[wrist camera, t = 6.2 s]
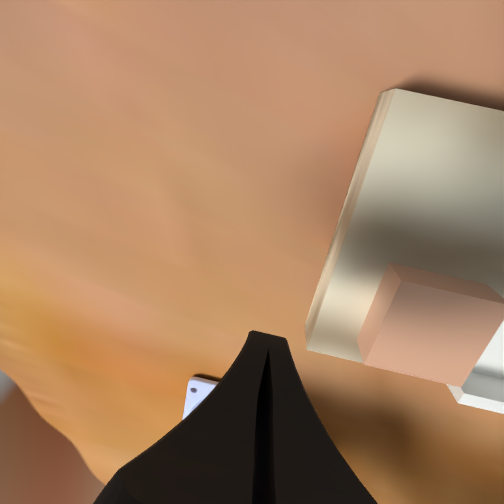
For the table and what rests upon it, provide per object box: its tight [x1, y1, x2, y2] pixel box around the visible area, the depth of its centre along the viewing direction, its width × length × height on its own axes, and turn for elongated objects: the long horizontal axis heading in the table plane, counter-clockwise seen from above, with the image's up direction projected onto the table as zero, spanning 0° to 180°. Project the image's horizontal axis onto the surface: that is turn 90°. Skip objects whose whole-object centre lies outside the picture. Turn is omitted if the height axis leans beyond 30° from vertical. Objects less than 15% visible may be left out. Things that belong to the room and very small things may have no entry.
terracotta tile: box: [357, 262, 504, 387], centre depth 16 cm, size 5×5×2 cm
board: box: [305, 88, 504, 363], centre depth 17 cm, size 14×9×2 cm, turn 169°
